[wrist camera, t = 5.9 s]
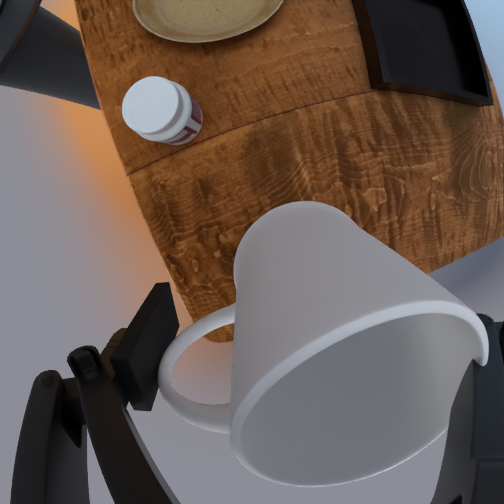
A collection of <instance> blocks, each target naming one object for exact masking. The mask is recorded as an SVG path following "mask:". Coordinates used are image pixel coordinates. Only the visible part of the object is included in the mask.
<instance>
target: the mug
mask: <svg viewBox="0 0 504 504" xmlns="http://www.w3.org/2000/svg"><path fill="white" fill-rule="evenodd" d="M234 282H235V286H236V302H235V303H234V304H232V305H230V306H227V307H225V308H222V309H220V310H217V311H215V312H213V313H211V314H209V315H207V316H205V317H203V318H201V319H200V320H198V321H196V322H195V323H193V324H192V325H190V326H189V327H188V328H186V329H185V330H184V331H183V332H181V333H180V334H179V335H178V336H177V337H176V338H175V339H174V340H173V341H172V342H171V344H170V345H169V346H168V348H167V349H166V351H165V352H164V354H163V356H162V359H161V361H160V364H159V369H158V384H159V389H160V392H161V394H162V397H163V399H164V400H165V402H166V404H167V405H168V406H169V407H170V409H171V410H172V411H173V412H174V413H175V414H176V415H178V416H179V417H180V418H182V419H183V420H185V421H186V422H188V423H190V424H192V425H194V426H196V427H199V428H202V429H205V430H209V431H213V432H219V433H225V434H229V435H230V443H231V447H232V450H233V452H234V454H235V456H236V457H237V459H238V460H239V462H240V463H241V464H242V465H243V466H244V467H245V468H247V469H248V470H249V471H251V472H252V473H254V474H255V475H257V476H259V477H261V478H263V479H266V480H268V481H272V482H275V483H279V484H283V485H289V486H297V487H325V486H334V485H340V484H345V483H350V482H354V481H358V480H362V479H365V478H368V477H371V476H374V475H376V474H379V473H381V472H384V471H386V470H389V469H391V468H393V467H395V466H397V465H399V464H401V463H403V462H404V461H406V460H408V459H410V458H411V457H413V456H415V455H416V454H418V453H419V452H421V451H422V450H423V449H425V448H426V447H428V446H429V445H430V444H431V443H433V442H434V441H435V440H436V439H437V438H439V437H440V436H441V435H442V434H443V433H444V432H445V431H446V430H447V429H448V426H449V419H450V410H451V408H452V405H453V402H454V399H455V396H456V394H457V391H458V388H459V386H460V383H461V381H462V378H463V376H464V374H465V371H466V369H467V367H468V366H469V364H470V362H471V360H472V359H474V360H475V361H476V362H477V363H478V364H480V365H481V366H484V365H486V363H487V361H488V353H489V343H488V336H487V332H486V329H485V327H484V325H483V323H482V321H481V320H480V318H479V317H478V316H477V315H476V314H475V313H474V312H473V311H472V310H471V309H470V308H469V307H467V306H466V305H465V304H464V303H463V302H461V301H460V300H459V299H458V298H456V297H455V296H454V295H453V294H451V293H450V292H449V291H447V290H446V289H445V288H444V287H442V286H441V285H440V284H438V283H437V282H436V281H435V280H433V279H432V278H430V277H429V276H428V275H427V274H425V273H424V272H423V271H421V270H420V269H418V268H417V267H416V266H414V265H413V264H412V263H410V262H409V261H407V260H406V259H405V258H403V257H402V256H400V255H399V254H397V253H396V252H395V251H393V250H392V249H390V248H389V247H387V246H386V245H384V244H383V243H382V242H380V241H379V240H377V239H376V238H374V237H373V236H371V235H370V234H368V233H367V232H365V231H364V230H362V229H361V228H359V227H358V226H357V225H356V224H355V223H354V221H353V220H352V219H351V218H350V217H348V216H347V215H346V214H345V213H343V212H342V211H340V210H339V209H337V208H335V207H333V206H330V205H327V204H324V203H320V202H313V201H299V202H292V203H288V204H284V205H281V206H279V207H276V208H274V209H272V210H270V211H269V212H267V213H266V214H264V215H263V216H261V217H260V218H259V219H258V220H257V221H255V222H254V223H253V224H252V226H251V227H250V228H249V229H248V230H247V232H246V233H245V235H244V236H243V238H242V240H241V242H240V244H239V246H238V249H237V252H236V255H235V260H234ZM231 323H235V325H234V343H233V362H232V383H231V384H232V385H231V403H227V404H220V405H207V404H201V403H197V402H194V401H191V400H188V399H186V398H184V397H183V396H181V395H180V394H179V393H177V392H176V390H175V389H174V388H173V386H172V382H171V375H172V370H173V367H174V365H175V363H176V361H177V360H178V358H179V357H180V355H181V354H182V353H183V352H184V351H185V350H186V348H188V347H189V346H190V345H191V344H192V343H193V342H195V341H196V340H197V339H199V338H200V337H202V336H204V335H205V334H207V333H209V332H211V331H213V330H215V329H217V328H219V327H222V326H224V325H227V324H231Z"/></svg>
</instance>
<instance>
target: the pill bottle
mask: <svg viewBox="0 0 504 504" xmlns="http://www.w3.org/2000/svg"><path fill="white" fill-rule="evenodd" d="M122 115H123V118H124V120H125V122H126V124H127V125H128V126H129V127H130V128H131V129H132V130H134V131H136V132H137V133H138V134H139V135H140V136H141V137H143V138H145V139H147V140H150V141H157V142H162V143H167V144H172V145H180V144H184V143H187V142H189V141H190V140H192V139H193V138H194V137H195V136H196V135H197V134H198V133H199V131H200V129H201V127H202V123H203V113H202V110H201V108H200V106H199V105H198V103H197V102H196V101H195V100H194V98H192V96H191V95H190V94H189V93H188V92H187V90H186V89H185V88H184V87H182V86H181V85H180V84H178V83H176V82H173V81H169V80H167V79H165V78H162V77H158V76H152V77H147V78H144V79H141V80H140V81H138V82H136V83H135V84H134V85H133V86H132V87H131V88H130V89H129V90H128V92H127V93H126V95H125V97H124V100H123V104H122Z"/></svg>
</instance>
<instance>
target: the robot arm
mask: <svg viewBox="0 0 504 504" xmlns="http://www.w3.org/2000/svg"><path fill="white" fill-rule="evenodd" d="M4 4H5V0H0V15H1V12H2V10H3V7H4ZM476 315H477V316H478V317H479V318H480V320H481V321H482V323H483V325H484V327H485V329H486V332H487V336H488V343H489V353H488V361H487V363H486V365H484V366H481V365H480V364H478V363H477V362H476V361H475V360H474V359H472V360H471V362H470V364H469V366H468V367H467V369H466V371H465V374H464V376H463V378H462V381H461V383H460V386H459V388H458V391H457V394H456V396H455V399H454V402H453V405H452V408H451V410H450V419H449V426H448V433H447V440H446V446H445V451H444V457H443V461H442V466H441V470H440V475H439V479H438V483H437V487H436V490H435V494H434V497H433V499H432V501H431V503H430V504H504V322H494V321H493V319H491V317H489V316H487V315H484V314H476ZM178 328H179V322H178V318H177V314H176V310H175V306H174V301H173V297H172V293H171V288H170V284H169V282H164V283H156V284H155V285H154V287H153V289H152V290H151V291H150V293H149V295H148V296H147V298H146V299H145V301H144V303H143V304H142V305H141V307H140V309H139V310H138V312H137V313H136V315H135V316H134V318H133V320H132V322H131V323H130V325H129V326H128V328H121V329H120V330H118V331H117V332H116V333H114V334H113V336H112V337H111V339H110V340H109V342H108V343H107V345H106V348H104V350H103V351H102V353H101V354H99V352H98V350H97V349H96V347H94V346H83V347H79V348H77V349H75V350H74V351H72V352H71V353H70V354H69V356H68V357H67V362H68V364H69V366H70V368H71V370H72V372H73V374H74V376H75V377H74V378H68V379H62V378H61V376H60V374H59V373H58V372H57V371H55V370H48V371H44V372H42V373H40V374H39V375H38V376H37V377H36V379H35V380H34V383H33V386H32V389H31V393H30V396H29V400H28V404H27V407H26V411H25V415H24V419H23V423H22V427H21V432H20V436H19V441H18V446H17V452H16V458H15V464H14V472H13V479H12V489H11V501H10V504H90V500H89V490H88V489H89V488H88V472H87V428H88V432H89V435H90V438H91V442H92V445H93V448H94V451H95V454H96V457H97V460H98V463H99V466H100V468H101V471H102V474H103V476H104V479H105V481H106V484H107V486H108V489H109V491H110V493H111V496H112V498H113V500H114V503H115V504H181V503H180V502H179V501H178V499H177V498H176V496H175V495H174V493H173V492H172V490H171V489H170V487H169V486H168V484H167V482H166V481H165V479H164V478H163V476H162V474H161V473H160V471H159V469H158V468H157V466H156V464H155V462H154V461H153V459H152V457H151V456H150V454H149V452H148V450H147V448H146V447H145V445H144V443H143V441H142V439H141V437H140V435H139V433H138V431H137V429H136V427H135V425H134V423H133V421H132V419H131V417H130V414H129V412H128V411H127V409H126V407H127V404H128V402H130V404H131V406H132V407H133V409H134V410H138V411H139V410H140V411H151V410H152V406H153V403H154V400H155V397H156V394H157V391H158V388H159V384H158V369H159V364H160V361H161V359H162V356H163V354H164V352H165V351H166V349H167V348H168V346H169V345H170V344H171V342H172V341H173V340H174V339H175V337H176V334H177V331H178Z"/></svg>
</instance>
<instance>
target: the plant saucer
mask: <svg viewBox="0 0 504 504" xmlns="http://www.w3.org/2000/svg"><path fill="white" fill-rule="evenodd" d="M282 2H283V0H133V10H134V14H135V16H136V18H137V19H138V21H139V22H140V23H141V25H142V26H143V27H145V28H146V29H147V30H148V31H150V32H151V33H153V34H155V35H157V36H159V37H162V38H165V39H168V40H173V41H179V42H189V43H200V42H211V41H217V40H222V39H226V38H230V37H233V36H237V35H239V34H242V33H245V32H247V31H249V30H251V29H253V28H255V27H257V26H259V25H261V24H262V23H263V22H265V21H266V20H268V19H269V18H270V17H271V16H272V15H273V14H274V13H275V12H276V11H277V10H278V8H279V7H280V5H281V4H282Z"/></svg>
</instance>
